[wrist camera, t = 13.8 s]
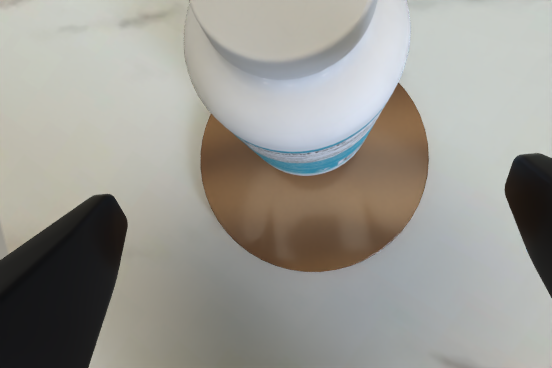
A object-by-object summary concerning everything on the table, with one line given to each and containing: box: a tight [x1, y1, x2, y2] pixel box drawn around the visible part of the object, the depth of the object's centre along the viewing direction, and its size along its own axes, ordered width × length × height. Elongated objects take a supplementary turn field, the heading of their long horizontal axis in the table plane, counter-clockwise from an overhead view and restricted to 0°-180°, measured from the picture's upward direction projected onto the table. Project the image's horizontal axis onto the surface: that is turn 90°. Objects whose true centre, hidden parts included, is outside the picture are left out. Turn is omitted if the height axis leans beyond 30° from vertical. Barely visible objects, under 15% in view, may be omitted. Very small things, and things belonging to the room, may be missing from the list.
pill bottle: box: [184, 0, 411, 176], centre depth 15 cm, size 8×7×14 cm
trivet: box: [201, 83, 429, 272], centre depth 22 cm, size 14×14×1 cm
